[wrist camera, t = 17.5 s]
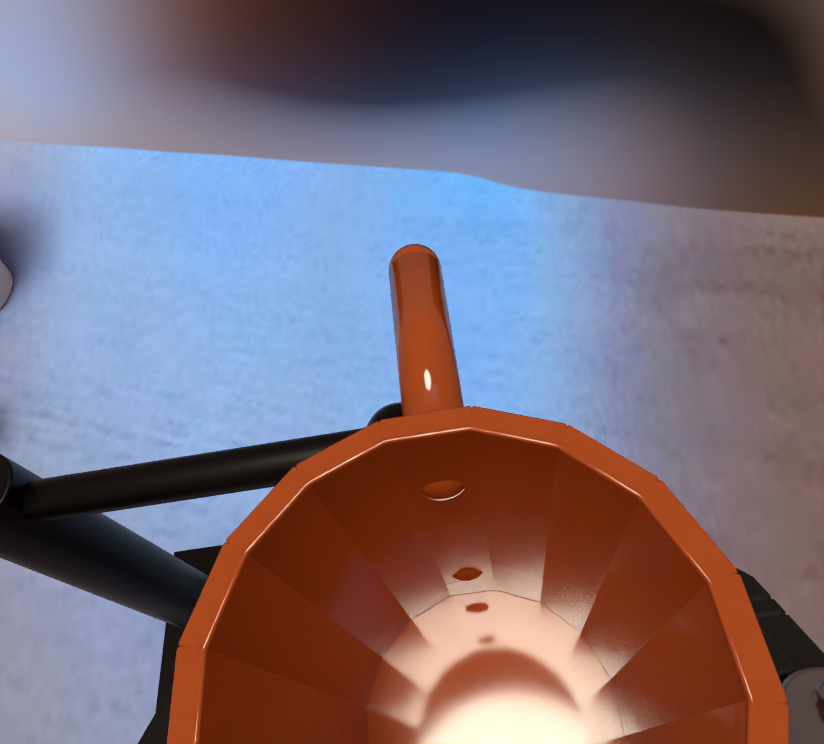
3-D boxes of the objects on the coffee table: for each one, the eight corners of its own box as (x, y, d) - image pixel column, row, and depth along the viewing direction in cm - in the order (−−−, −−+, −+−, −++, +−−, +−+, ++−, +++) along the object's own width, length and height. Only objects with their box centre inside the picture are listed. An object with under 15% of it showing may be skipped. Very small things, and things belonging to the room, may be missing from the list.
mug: (676, 886, 13) (938, 1090, 5) (365, 915, 14) (121, 1147, 5) (554, 407, 20) (578, 144, 11) (346, 439, 20) (222, 210, 12)
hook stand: (165, 740, 27) (-288, 713, 12) (185, 558, 32) (-131, 369, 16) (497, 701, 26) (457, 615, 11) (469, 517, 30) (414, 273, 15)
